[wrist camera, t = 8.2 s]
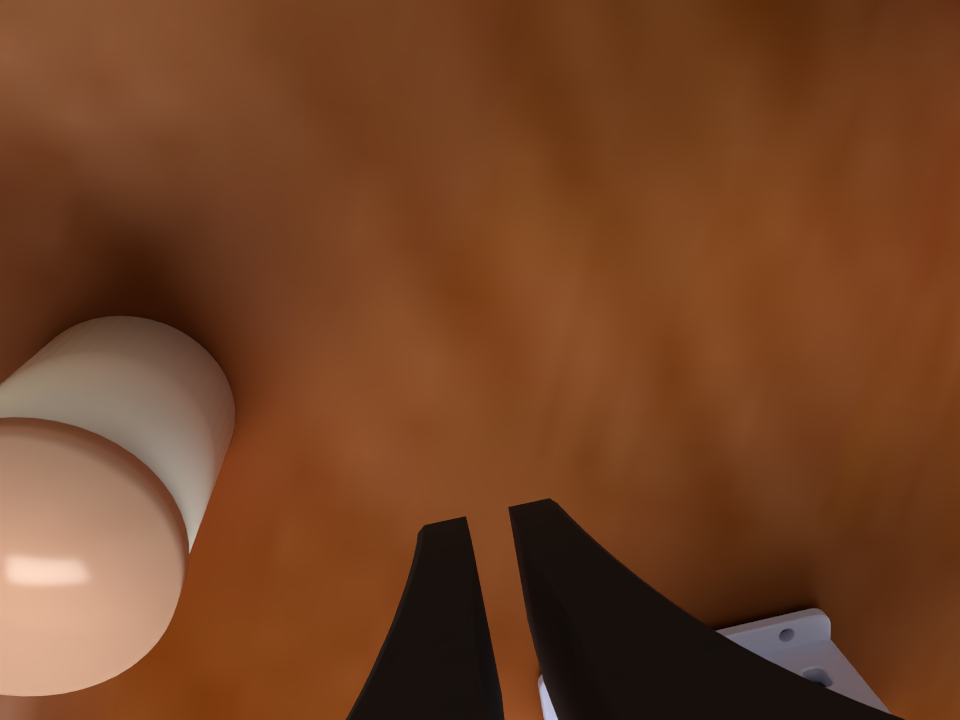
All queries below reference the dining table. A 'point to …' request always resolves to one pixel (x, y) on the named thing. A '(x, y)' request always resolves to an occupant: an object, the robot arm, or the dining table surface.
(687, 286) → the dining table surface
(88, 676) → the cream jar
